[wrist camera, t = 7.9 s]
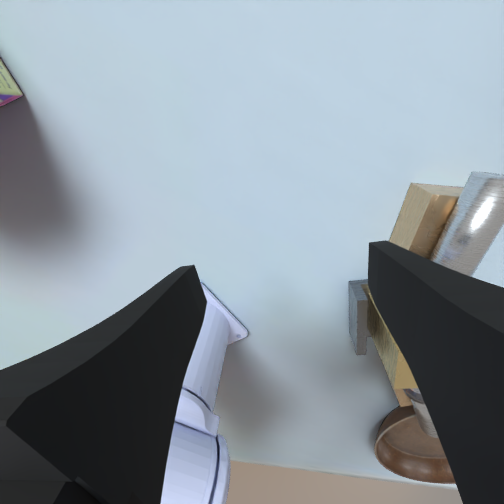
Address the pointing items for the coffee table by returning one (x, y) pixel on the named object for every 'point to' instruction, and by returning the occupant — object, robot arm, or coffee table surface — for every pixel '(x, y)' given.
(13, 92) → the box
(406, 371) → the block
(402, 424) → the plant saucer
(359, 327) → the cradle
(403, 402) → the shaft
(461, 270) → the shaft
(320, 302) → the coffee table surface
